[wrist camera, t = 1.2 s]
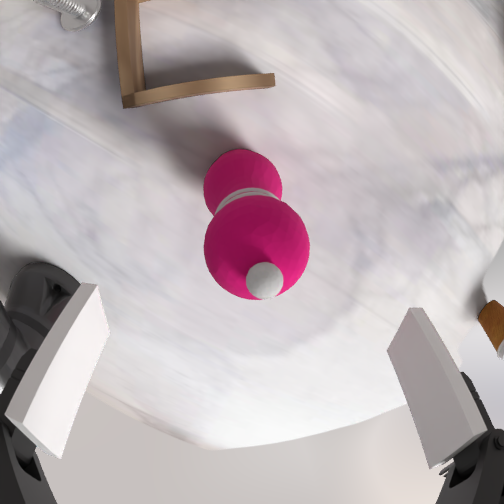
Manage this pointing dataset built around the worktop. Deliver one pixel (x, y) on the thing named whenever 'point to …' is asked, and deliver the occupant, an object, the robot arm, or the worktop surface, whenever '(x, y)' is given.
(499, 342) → the disposable coffee cup
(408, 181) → the worktop surface
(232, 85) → the u rest
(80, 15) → the screw
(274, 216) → the pepper mill
